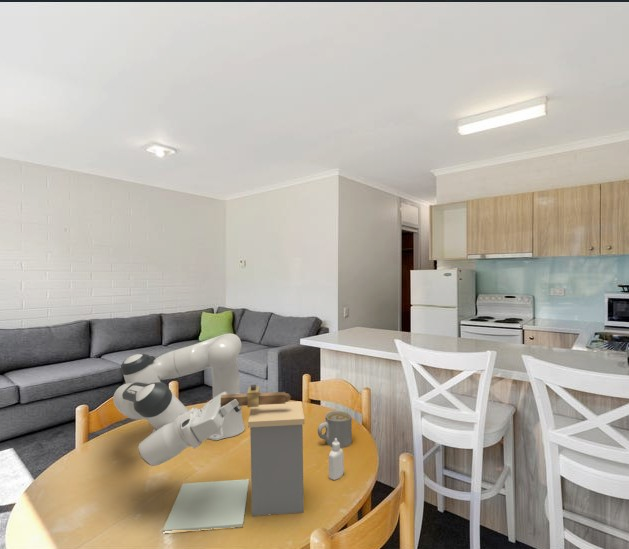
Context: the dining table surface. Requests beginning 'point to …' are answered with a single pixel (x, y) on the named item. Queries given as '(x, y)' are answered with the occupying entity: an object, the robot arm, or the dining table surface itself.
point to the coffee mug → (337, 428)
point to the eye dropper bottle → (336, 461)
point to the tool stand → (277, 458)
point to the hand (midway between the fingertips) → (238, 398)
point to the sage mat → (209, 505)
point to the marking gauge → (256, 398)
